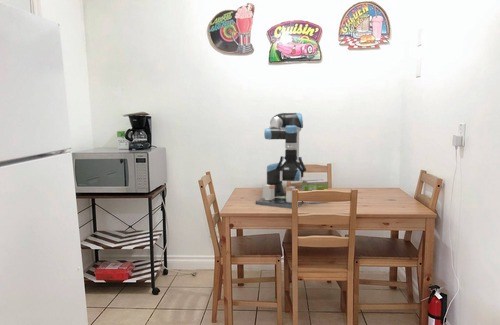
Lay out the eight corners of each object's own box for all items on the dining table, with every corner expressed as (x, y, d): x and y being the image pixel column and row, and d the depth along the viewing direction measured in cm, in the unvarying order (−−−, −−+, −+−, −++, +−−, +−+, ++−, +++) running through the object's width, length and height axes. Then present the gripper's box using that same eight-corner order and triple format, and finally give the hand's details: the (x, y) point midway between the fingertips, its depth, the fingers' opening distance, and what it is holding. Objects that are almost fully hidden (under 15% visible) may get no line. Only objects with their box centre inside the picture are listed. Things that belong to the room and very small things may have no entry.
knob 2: (289, 200, 237) (289, 185, 236) (296, 201, 235) (296, 185, 234) (284, 203, 230) (284, 187, 228) (292, 203, 228) (292, 188, 226)
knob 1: (261, 199, 241) (261, 184, 240) (267, 198, 244) (267, 183, 243) (270, 201, 235) (270, 186, 233) (275, 200, 238) (275, 185, 236)
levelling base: (265, 199, 250) (265, 193, 249) (302, 203, 237) (303, 197, 237) (255, 204, 235) (255, 198, 235) (295, 208, 223) (295, 202, 223)
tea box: (308, 204, 235) (308, 182, 233) (301, 200, 245) (302, 179, 243) (328, 202, 239) (328, 181, 237) (321, 199, 249) (321, 178, 247)
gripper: (271, 149, 230) (271, 180, 233) (307, 150, 219) (307, 183, 222) (275, 148, 237) (275, 179, 239) (311, 149, 226) (310, 181, 228)
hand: (290, 181), depth 231 cm, fingers open, 13 cm apart
